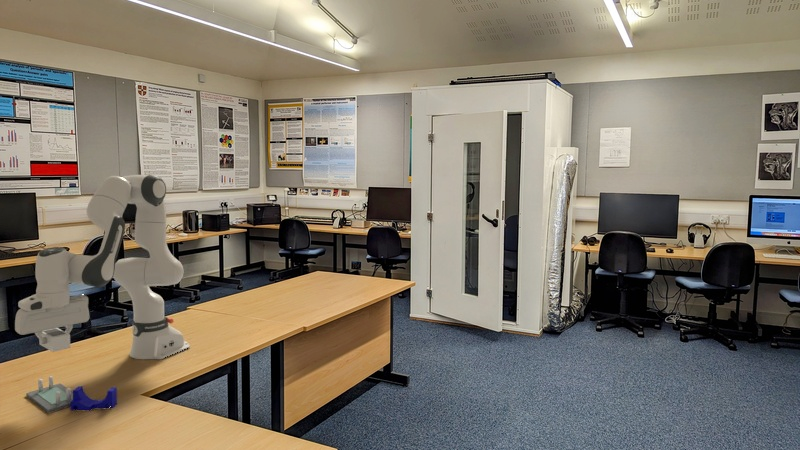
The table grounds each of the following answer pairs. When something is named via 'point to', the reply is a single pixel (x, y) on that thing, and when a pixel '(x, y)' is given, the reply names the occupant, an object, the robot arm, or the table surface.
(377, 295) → the table surface
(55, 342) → the block
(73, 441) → the table surface
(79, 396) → the cable clip
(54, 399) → the pin tray
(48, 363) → the table surface
